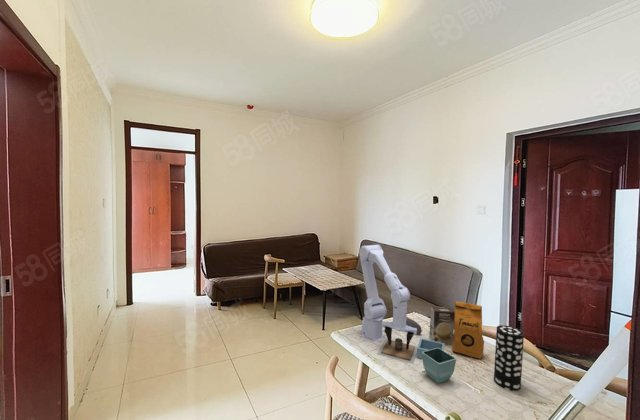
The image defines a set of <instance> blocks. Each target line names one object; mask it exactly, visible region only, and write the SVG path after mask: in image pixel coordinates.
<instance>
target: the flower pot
mask: <svg viewBox="0 0 640 420" xmlns="http://www.w3.org/2000/svg"><path fill="white" fill-rule="evenodd" d="M421 360H422V365H423V369H424V371H425V374H426V375H427V377H429V378H430V379H432V380H434V382H436V384H440V383H443V382H446V381H449V379H451V377H452V376H453V374H454V372H455V369H456V368H455V367H456V361H457V358H456V357H455V356H453V355H451V354H450V353H448V352H446V351H445V350H444V351H443V350H442V349H440V348H434V349H431V350H427V351H423V352H422V359H421Z"/></svg>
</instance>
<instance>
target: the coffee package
mask: <svg viewBox="0 0 640 420" xmlns="http://www.w3.org/2000/svg"><path fill="white" fill-rule="evenodd" d="M454 312H455V319H454V335H453V341H452V346H451V348H452V351H453V352H455V353H458V354H463V355H466V356H468V357H472V358H477V359H479V360H481V358H482V357H483V354H484V348H485V340H484V337H483V328H482V327H483V315H482V314H483V306H482V305H479V304H472V303H469V302H462V301H454Z"/></svg>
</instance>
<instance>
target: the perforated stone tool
mask: <svg viewBox="0 0 640 420" xmlns="http://www.w3.org/2000/svg"><path fill="white" fill-rule="evenodd" d="M406 325H408V326H410V327H413V328H417V334H416V335H420V334H422V332H423V329H422V327H421V325H420V324H419V323H418V322H417V321H415V320H414V319H411V318H409V317H408V316H407V318H406Z"/></svg>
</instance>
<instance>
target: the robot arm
mask: <svg viewBox="0 0 640 420" xmlns="http://www.w3.org/2000/svg"><path fill="white" fill-rule="evenodd" d="M358 255H359V258H360V265H361V270H362V275H363V280H364V281H363V282H364V286H365V291H366V297H367V299H366V301H365V302H364V304H363V307H364V308H363V313H364V315H363V318H362V320H361V321H362V322H361V335H360V336H361V338H364V339H369V340H372V341H377V342H381V341H382V340H383V338H384V337H385V336H386V337H387V339H388V343H389V345H391V341H393V340H392V339H393V338H392V334H393V333H392V331H393V330H395V331H396V332H406V335H405V336H406V343H405V344H406V349H407V350H408V348H409V345H410V343H411V341H412V338H413V337H414V335H418V334H417V328H413V327H410V326H408V325H406V318H407V317H408V315H407V313H408V312H407V311H408V310H407V309H408V301H409V300H410V298H411V292H410V290H409V289H408V288H407V287H406V286H405V285H404V284H402V282H401V281H400V279H399V278H398V276H397V274H396V273H395V272H392V270H391V268H390V267H389V264H388V263H387V260H386V259H385V256H384V250H383V248H382V246H381V245H380V244H373V245H372V244H370V245H362V246H360V248H359V251H358ZM374 263H375V264H376V265H377V267H378V268H379V270H380V271H381V272H382V274H383V275H384V276H383V277H384V278H383V280H384V282H385V283H386V286H387V287H388V289H389V291H390V298H391V300H392V321H391V322H390V321H384V319H385V317H386V315H387V313H388V311H387V307H386V304H385V302H384V300H383V299H382V298H381V297H379V292H378V287H377V281H376V276H375V271H374V265H373V264H374ZM383 328H384V329H383ZM383 330H384V331H383ZM383 332H384V333H383Z"/></svg>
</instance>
